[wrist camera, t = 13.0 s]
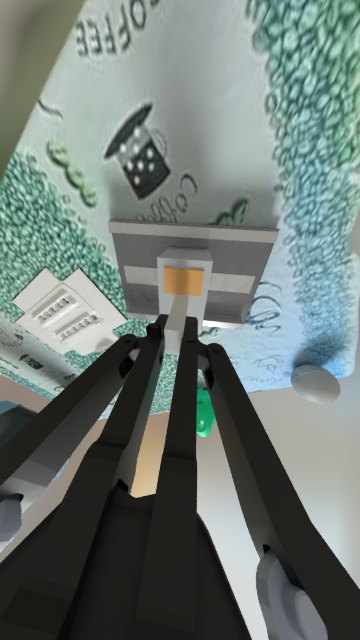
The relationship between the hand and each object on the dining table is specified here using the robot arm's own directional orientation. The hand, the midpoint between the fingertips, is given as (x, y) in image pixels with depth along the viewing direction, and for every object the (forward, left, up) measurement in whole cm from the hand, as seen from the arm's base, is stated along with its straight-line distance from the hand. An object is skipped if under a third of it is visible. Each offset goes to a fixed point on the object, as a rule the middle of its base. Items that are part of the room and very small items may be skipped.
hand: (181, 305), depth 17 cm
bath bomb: (+30, -20, -11) cm, 38 cm away
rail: (0, 0, -10) cm, 10 cm away
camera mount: (+7, -39, -11) cm, 41 cm away
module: (0, 0, -9) cm, 9 cm away
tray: (-28, -13, -11) cm, 33 cm away
